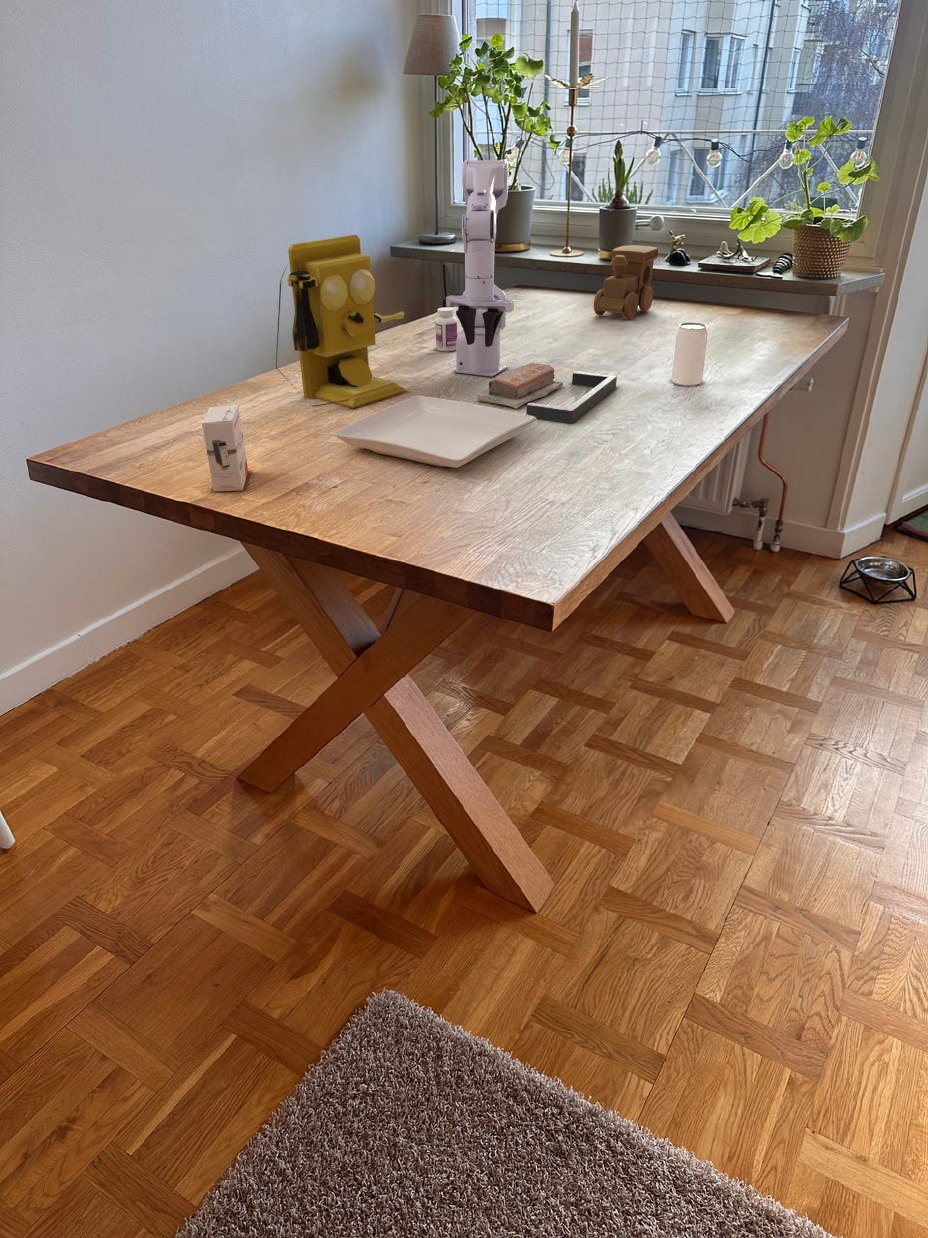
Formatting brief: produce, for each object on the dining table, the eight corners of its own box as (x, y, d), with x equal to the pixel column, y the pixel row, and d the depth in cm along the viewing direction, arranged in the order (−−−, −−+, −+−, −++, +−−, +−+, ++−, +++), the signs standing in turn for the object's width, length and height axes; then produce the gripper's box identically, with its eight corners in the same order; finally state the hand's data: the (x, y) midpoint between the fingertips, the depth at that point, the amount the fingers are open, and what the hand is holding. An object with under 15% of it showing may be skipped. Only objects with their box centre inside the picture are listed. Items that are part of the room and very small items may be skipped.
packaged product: (524, 358, 194) (564, 365, 189) (523, 380, 196) (562, 388, 191) (476, 378, 182) (517, 385, 177) (476, 401, 184) (516, 409, 179)
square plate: (460, 480, 147) (460, 458, 145) (331, 452, 160) (329, 430, 158) (537, 433, 167) (538, 412, 165) (417, 410, 180) (416, 391, 178)
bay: (526, 417, 175) (526, 404, 174) (574, 382, 195) (575, 370, 194) (571, 423, 171) (572, 410, 170) (616, 387, 191) (617, 375, 190)
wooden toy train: (619, 304, 262) (624, 243, 253) (656, 308, 256) (662, 246, 248) (589, 318, 248) (592, 253, 239) (627, 322, 242) (632, 257, 234)
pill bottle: (458, 346, 223) (458, 306, 218) (456, 351, 218) (455, 311, 214) (437, 346, 224) (436, 306, 219) (434, 351, 219) (433, 311, 214)
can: (703, 379, 195) (710, 322, 189) (700, 387, 190) (707, 329, 184) (673, 376, 197) (679, 320, 191) (669, 385, 192) (675, 327, 186)
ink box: (220, 472, 152) (209, 404, 146) (249, 471, 153) (239, 403, 146) (212, 492, 145) (200, 421, 139) (243, 491, 145) (232, 420, 139)
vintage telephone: (316, 420, 175) (300, 257, 160) (273, 406, 183) (253, 250, 168) (428, 385, 195) (423, 236, 179) (385, 373, 203) (376, 230, 188)
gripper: (438, 276, 180) (440, 345, 187) (503, 282, 174) (503, 352, 181) (454, 271, 185) (455, 337, 192) (518, 275, 179) (517, 344, 186)
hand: (479, 344), depth 187 cm, fingers open, 4 cm apart
